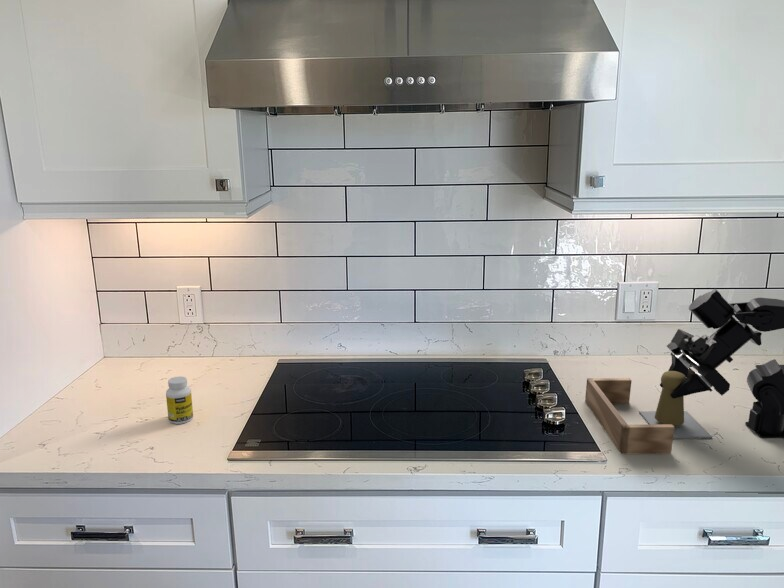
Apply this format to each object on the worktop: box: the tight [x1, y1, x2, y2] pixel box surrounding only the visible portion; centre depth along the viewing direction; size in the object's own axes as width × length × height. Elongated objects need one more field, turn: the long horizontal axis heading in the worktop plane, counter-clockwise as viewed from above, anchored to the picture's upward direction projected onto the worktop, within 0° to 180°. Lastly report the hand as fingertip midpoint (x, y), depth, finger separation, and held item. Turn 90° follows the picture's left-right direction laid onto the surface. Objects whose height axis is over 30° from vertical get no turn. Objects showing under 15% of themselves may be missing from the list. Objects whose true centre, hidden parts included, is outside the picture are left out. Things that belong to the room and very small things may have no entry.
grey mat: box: [638, 410, 713, 440], centre depth 139 cm, size 11×12×1 cm
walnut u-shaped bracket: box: [584, 377, 675, 455], centre depth 138 cm, size 10×24×6 cm, turn 0°
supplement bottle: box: [165, 375, 194, 425], centre depth 141 cm, size 5×5×10 cm
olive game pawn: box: [655, 370, 686, 426], centre depth 137 cm, size 6×6×11 cm
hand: (666, 391), depth 137 cm, fingers closed on olive game pawn, 5 cm apart
